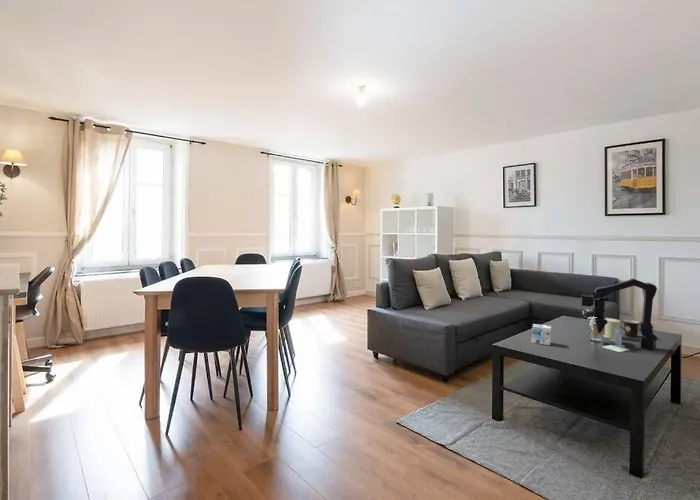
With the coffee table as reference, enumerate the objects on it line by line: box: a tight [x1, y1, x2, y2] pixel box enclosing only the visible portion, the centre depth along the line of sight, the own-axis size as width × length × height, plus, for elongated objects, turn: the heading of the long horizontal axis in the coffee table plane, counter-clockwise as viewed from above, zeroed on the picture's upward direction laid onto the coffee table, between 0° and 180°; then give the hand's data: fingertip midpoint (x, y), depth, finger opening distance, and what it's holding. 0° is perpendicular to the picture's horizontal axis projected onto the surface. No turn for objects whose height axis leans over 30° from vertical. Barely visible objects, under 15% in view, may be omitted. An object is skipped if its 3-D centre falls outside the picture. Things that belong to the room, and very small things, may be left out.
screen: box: [610, 329, 626, 348], centre depth 240 cm, size 14×5×8 cm, turn 155°
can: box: [602, 317, 621, 340], centre depth 255 cm, size 9×9×12 cm
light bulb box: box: [531, 323, 552, 346], centre depth 242 cm, size 11×7×11 cm, turn 62°
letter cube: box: [591, 324, 605, 336], centre depth 242 cm, size 6×6×6 cm
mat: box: [602, 344, 630, 353], centre depth 231 cm, size 10×10×1 cm
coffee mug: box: [620, 319, 639, 339], centre depth 259 cm, size 12×9×10 cm
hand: (598, 331), depth 242 cm, fingers closed on letter cube, 6 cm apart
